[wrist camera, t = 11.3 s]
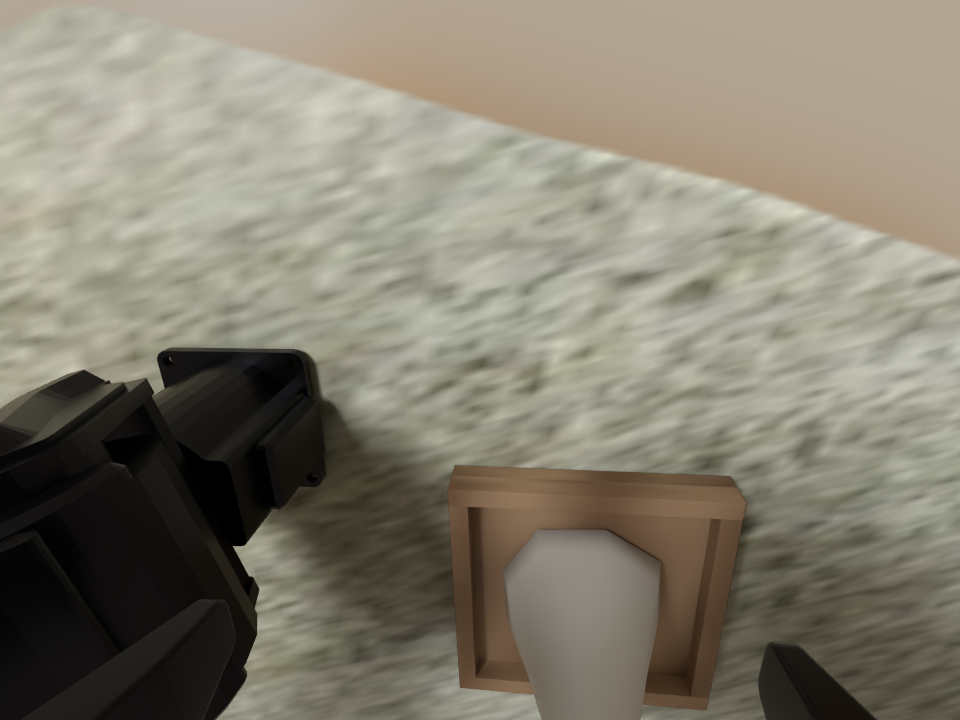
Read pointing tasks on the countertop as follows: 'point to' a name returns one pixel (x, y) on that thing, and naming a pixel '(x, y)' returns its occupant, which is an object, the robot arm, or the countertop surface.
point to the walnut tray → (596, 506)
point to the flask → (584, 622)
